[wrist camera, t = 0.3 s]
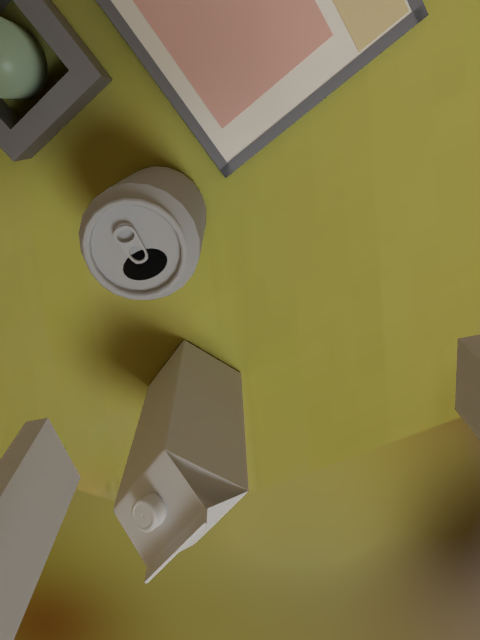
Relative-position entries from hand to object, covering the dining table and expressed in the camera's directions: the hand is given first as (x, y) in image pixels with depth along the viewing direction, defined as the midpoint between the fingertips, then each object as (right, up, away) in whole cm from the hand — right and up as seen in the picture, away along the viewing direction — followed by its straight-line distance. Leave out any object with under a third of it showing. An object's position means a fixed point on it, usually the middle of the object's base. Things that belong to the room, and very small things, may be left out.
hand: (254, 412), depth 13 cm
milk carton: (-5, -3, +29) cm, 30 cm away
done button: (-16, +21, +15) cm, 30 cm away
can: (-7, +12, +21) cm, 26 cm away
